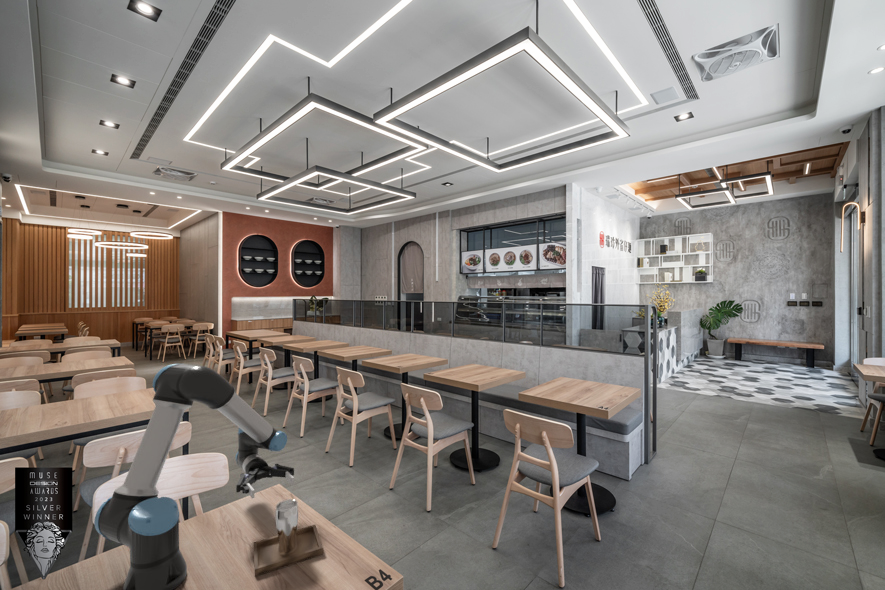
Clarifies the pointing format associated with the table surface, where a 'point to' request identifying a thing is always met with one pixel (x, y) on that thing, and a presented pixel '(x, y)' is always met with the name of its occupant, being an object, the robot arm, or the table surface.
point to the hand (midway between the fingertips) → (273, 487)
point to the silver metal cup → (287, 526)
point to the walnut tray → (271, 560)
